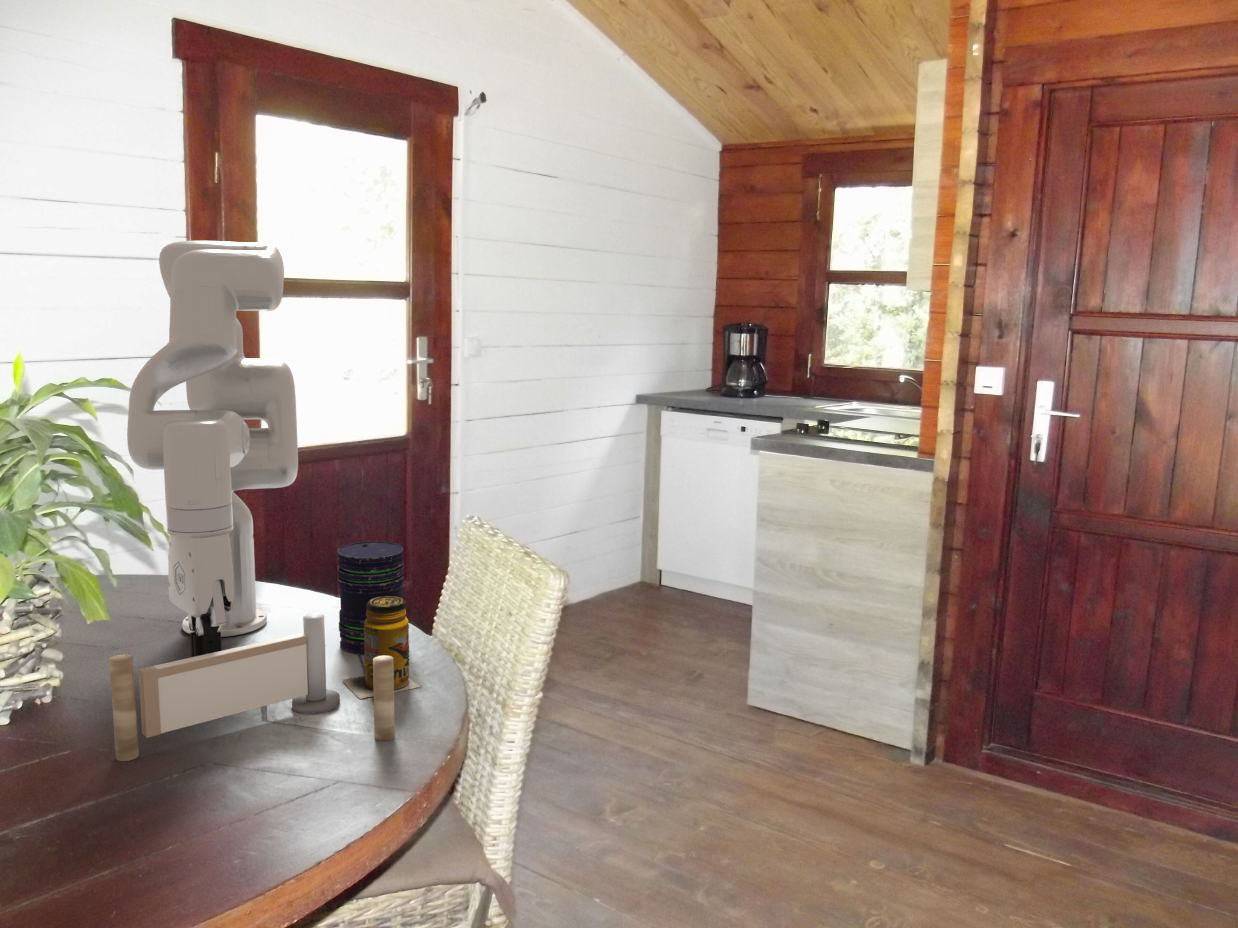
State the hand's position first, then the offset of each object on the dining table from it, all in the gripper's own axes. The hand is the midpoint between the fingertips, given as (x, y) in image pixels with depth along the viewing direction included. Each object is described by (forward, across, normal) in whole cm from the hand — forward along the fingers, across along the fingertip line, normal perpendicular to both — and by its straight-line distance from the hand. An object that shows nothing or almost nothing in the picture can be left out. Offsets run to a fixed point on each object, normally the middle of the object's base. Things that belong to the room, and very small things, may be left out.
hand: (206, 661), depth 129 cm
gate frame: (+8, +11, +2) cm, 13 cm away
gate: (+6, +5, +2) cm, 8 cm away
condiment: (+8, +4, +22) cm, 24 cm away
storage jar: (+7, -12, +29) cm, 32 cm away
